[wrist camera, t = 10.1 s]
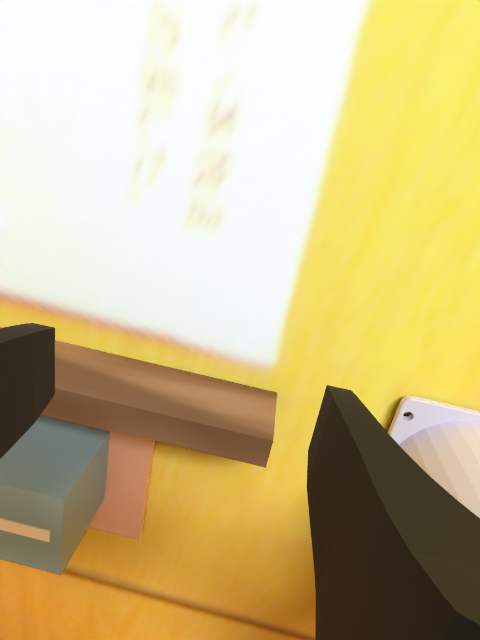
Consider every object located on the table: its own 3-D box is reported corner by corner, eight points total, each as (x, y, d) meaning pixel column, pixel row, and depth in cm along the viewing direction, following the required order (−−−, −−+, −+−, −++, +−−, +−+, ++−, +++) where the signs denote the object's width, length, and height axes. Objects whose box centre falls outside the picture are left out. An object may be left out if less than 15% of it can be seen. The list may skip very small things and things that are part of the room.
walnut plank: (270, 416, 22) (265, 467, 19) (-47, 340, 23) (-112, 375, 19) (276, 392, 22) (273, 440, 18) (-49, 316, 22) (-116, 346, 19)
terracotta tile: (142, 532, 27) (139, 540, 26) (-6, 494, 27) (-13, 501, 26) (160, 402, 23) (157, 408, 22) (-12, 360, 23) (-20, 365, 23)
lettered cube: (104, 498, 25) (60, 576, 20) (25, 478, 25) (-37, 551, 21) (110, 431, 23) (62, 500, 18) (25, 410, 23) (-43, 473, 19)
